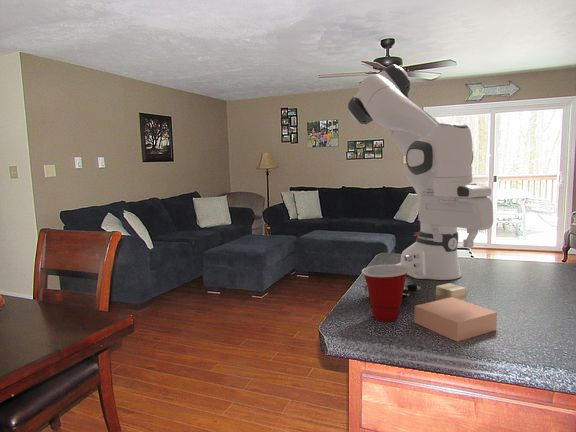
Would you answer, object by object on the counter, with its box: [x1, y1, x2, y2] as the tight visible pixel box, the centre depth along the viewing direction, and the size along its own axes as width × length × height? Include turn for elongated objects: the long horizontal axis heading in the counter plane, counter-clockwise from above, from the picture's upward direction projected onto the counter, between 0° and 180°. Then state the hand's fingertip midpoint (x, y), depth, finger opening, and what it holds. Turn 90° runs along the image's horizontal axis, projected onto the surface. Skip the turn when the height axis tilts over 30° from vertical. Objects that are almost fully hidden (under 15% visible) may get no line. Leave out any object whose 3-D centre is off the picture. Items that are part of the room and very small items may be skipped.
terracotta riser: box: [414, 297, 498, 342], centre depth 92 cm, size 12×12×4 cm
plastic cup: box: [361, 264, 408, 322], centre depth 98 cm, size 11×11×12 cm
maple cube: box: [435, 282, 467, 302], centre depth 105 cm, size 5×5×5 cm
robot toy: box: [359, 281, 421, 301], centre depth 113 cm, size 12×4×15 cm
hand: (452, 244), depth 103 cm, fingers open, 8 cm apart
